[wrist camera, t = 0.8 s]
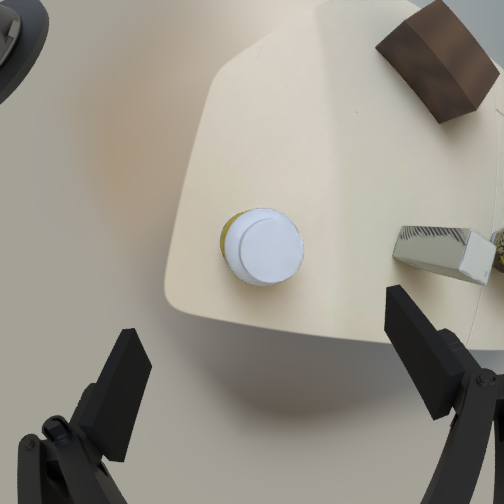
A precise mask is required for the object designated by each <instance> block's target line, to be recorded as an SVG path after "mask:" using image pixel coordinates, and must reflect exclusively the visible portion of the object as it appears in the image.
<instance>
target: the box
mask: <svg viewBox="0 0 504 504" xmlns="http://www.w3.org/2000/svg"><path fill="white" fill-rule="evenodd" d="M495 252H496V246H495V245H494V244H493V243H491V242H490V241H489V240H487V239H486V238H485V237H483V236H482V235H480V234H479V233H478V232H476V231H474V230H473V229H461V228H442V227H421V226H402V229H401V232H400V235H399V238H398V241H397V244H396V247H395V250H394V253H393V257H394V258H396V259H397V260H399V261H401V262H403V263H405V264H408V265H410V266H412V267H414V268H416V269H419V270H423V271H427V272H432V273H436V274H440V275H444V276H448V277H452V278H456V279H459V280H463V281H467V282H471V283H475V284H479V285H483V286H486V284H487V281H488V278H489V274H490V271H491V267H492V264H493V260H494V256H495Z"/></svg>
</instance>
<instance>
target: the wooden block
mask: <svg viewBox="0 0 504 504" xmlns="http://www.w3.org/2000/svg"><path fill="white" fill-rule="evenodd" d="M375 48H376V49H377V50H378V51H379V52H380V53H381V54H382V55H383V56H384V57H385V58H386V59H387V60H388V61H389V62H390V63H391V65H392V66H393V67H394V68H395V69H396V70H397V71H398V72H399V73H400V75H401V76H402V77H403V78H404V79H405V80H406V82H407V83H408V84H409V85H410V86H411V88H412V89H413V90H414V91H415V92H416V94H417V95H418V96H419V97H420V99H421V100H422V101H423V102H424V104H425V105H426V106H427V108H428V109H429V110H430V112H431V113H432V114H433V116H434V117H435V118H436V120H437V121H438V122H439V124H440V123H442V122H445V121H448V120H451V119H453V118H456V117H459V116H462V115H464V114H467V113H470V112H473V111H476V110H477V109H478V107H479V106H480V104H481V103H482V101H483V100H484V98H485V97H486V95H487V94H488V92H489V90H490V89H491V87H492V86H493V84H494V83H495V81H496V79H497V78H498V76H499V75H500V73H499V71H498V70H497V68H496V67H495V65H494V64H493V62H492V61H491V60H490V58H489V57H488V55H487V54H486V53H485V51H484V50H483V49H482V47H481V46H480V45H479V43H478V42H477V41H476V39H475V38H474V37H473V36H472V34H471V33H470V32H469V31H468V29H467V28H466V27H465V26H464V25H463V23H462V22H461V21H460V20H459V19H458V18H457V16H456V15H455V14H454V13H453V12H452V11H451V10H450V9H449V7H447V5H446V4H445V3H444V2H443V1H442V0H436V1H434V2H432V3H431V4H429V5H428V6H426V7H425V8H423V9H421V10H420V11H418V12H417V13H415V14H414V15H412V16H411V17H409V18H408V19H406V20H405V21H403V22H402V23H401V24H400V25H399V26H398V27H397V28H396V29H394V30H393V31H392V32H391V33H390V34H389V35H388V36H387V37H386V38H385V39H384V40H382V41H381V42H380V43H379V44H378V45H377V46H376V47H375Z"/></svg>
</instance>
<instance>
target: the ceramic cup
mask: <svg viewBox="0 0 504 504" xmlns="http://www.w3.org/2000/svg"><path fill="white" fill-rule="evenodd" d="M490 242H491V243H493V244H494V245H495V246H496V252H495V256H494V260H493V264H492V266H493V267H495V268H496V269H497V270H498V271H500V272H502V273H504V228H502V229H500V230H498V231H497V232H495V233H494V234H493V235H492V238H491V241H490Z"/></svg>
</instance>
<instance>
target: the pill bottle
mask: <svg viewBox="0 0 504 504" xmlns="http://www.w3.org/2000/svg"><path fill="white" fill-rule="evenodd" d="M220 246H221V251H222V254H223V256H224V258H225V260H226V262H227V263H228V265H229V267H230V268H231V270H232V271H233V273H234V274H235V275H236V276H238V277H239V278H240V279H241V280H243V281H245V282H247V283H249V284H252V285H256V286H270V285H274V284H277V283H279V282H282V281H284V280H286V279H288V278H290V277H291V276H292V275H293V274H295V272H296V271H297V270H298V268H299V267H300V265H301V263H302V260H303V255H304V246H303V241H302V238H301V236H300V234H299V231H298V229H297V227H296V226H295V224H294V223H293V222H292V220H291V219H290V218H288V217H287V216H286V215H285V214H283V213H281V212H279V211H277V210H274V209H269V208H257V209H252V210H248V211H245V212H241V213H239V214H237V215H235V216H234V217H232V218H231V219H230V220H229V221H228V222H227V223H226V225H225V226H224V228H223V230H222V233H221V238H220Z"/></svg>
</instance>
